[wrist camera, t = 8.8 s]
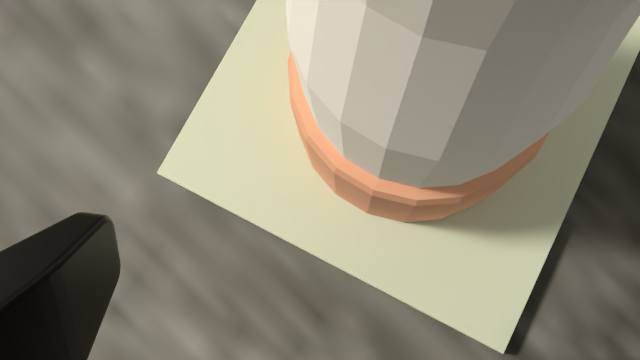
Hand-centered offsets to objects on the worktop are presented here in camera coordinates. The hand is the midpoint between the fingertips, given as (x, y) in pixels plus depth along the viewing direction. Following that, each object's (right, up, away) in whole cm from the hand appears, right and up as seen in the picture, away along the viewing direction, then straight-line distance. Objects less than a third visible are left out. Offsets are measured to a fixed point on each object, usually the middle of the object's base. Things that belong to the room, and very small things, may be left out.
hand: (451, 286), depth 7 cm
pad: (+1, +4, +12) cm, 13 cm away
